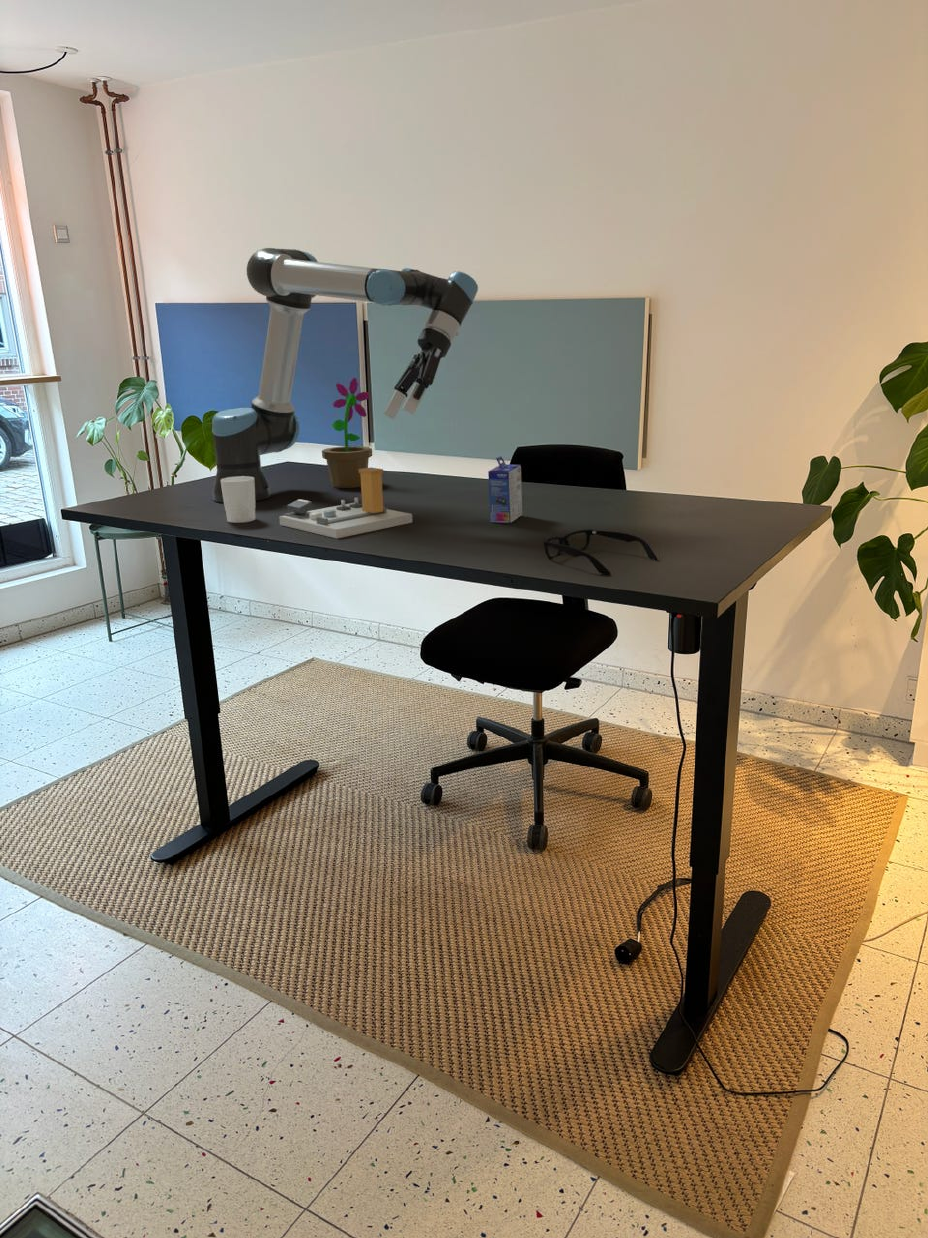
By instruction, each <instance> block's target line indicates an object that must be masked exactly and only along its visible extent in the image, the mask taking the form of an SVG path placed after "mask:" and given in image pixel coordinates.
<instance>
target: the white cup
mask: <svg viewBox="0 0 928 1238" xmlns="http://www.w3.org/2000/svg"><path fill="white" fill-rule="evenodd" d="M220 481H221V487H222V494H223V501H224V502H223V505H224V510H225V514H226V521H227V522H229V523H236V524H237V523H239V524H242V523H249V522H253V521H255V520H256V501H255V481H254V477H249V476H237V477H228V478H223V479H221V480H220Z"/></svg>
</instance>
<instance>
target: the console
mask: <svg viewBox="0 0 928 1238" xmlns="http://www.w3.org/2000/svg"><path fill="white" fill-rule="evenodd" d="M340 501H341V504H340V505H334V506H329V507H322V508H318V509H313V510H307V511H305V512H303V513H297V512H293V511H289V512H287V513H283V515H279V526H282V527H283V526H284V527H288V528H291V529H295V530H300V531H304V532H307V533H313V534H317V535H321V536H325V537H328V538H333V539H340V538H347V537H350V536H355V535H360V534H364V533H370V532H374V531H378V530H383V529H388V528H392V527H398V526H403V525H407V524H412V523H413V513H409V512H404V511H398V510H393V509H389V508H387V507H386V506H383V511H382V512H377V513H370V512H365V511H363V510H362V503H359V498H358V497H354V502H350V503H346V500H345V499H341V500H340Z"/></svg>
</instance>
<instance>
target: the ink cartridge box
mask: <svg viewBox="0 0 928 1238" xmlns="http://www.w3.org/2000/svg"><path fill="white" fill-rule="evenodd" d="M495 458H496V459H495V460H496V461H497V463H498V465H497V466H495V467H494V468H493V469H489V470H488V473H487V474H488V501H489V515H490V517H489V518H490V523H499V524H512V523H513V522H514V521H516V520H518V518H519V517H521V516H523V501H522V500H523V498H522V497H523V496H522V467H521V466H522V465H521V464H507V463H506V462H505V460H504V459H503V456H498V457H495ZM501 461H502V462H501Z"/></svg>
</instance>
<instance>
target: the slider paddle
mask: <svg viewBox="0 0 928 1238" xmlns="http://www.w3.org/2000/svg"><path fill="white" fill-rule="evenodd" d="M358 471H359V473H360V474H361V487H360V488H361V489H360V490H361V504H362V510H363V511H365V512H370V513H377V512H382V511H383V507H384V500H383V499H384V498H383V497H384V495H383V477H382V474H383V473H384V469H383V468H376V467H368V468H363V469H358Z"/></svg>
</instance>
